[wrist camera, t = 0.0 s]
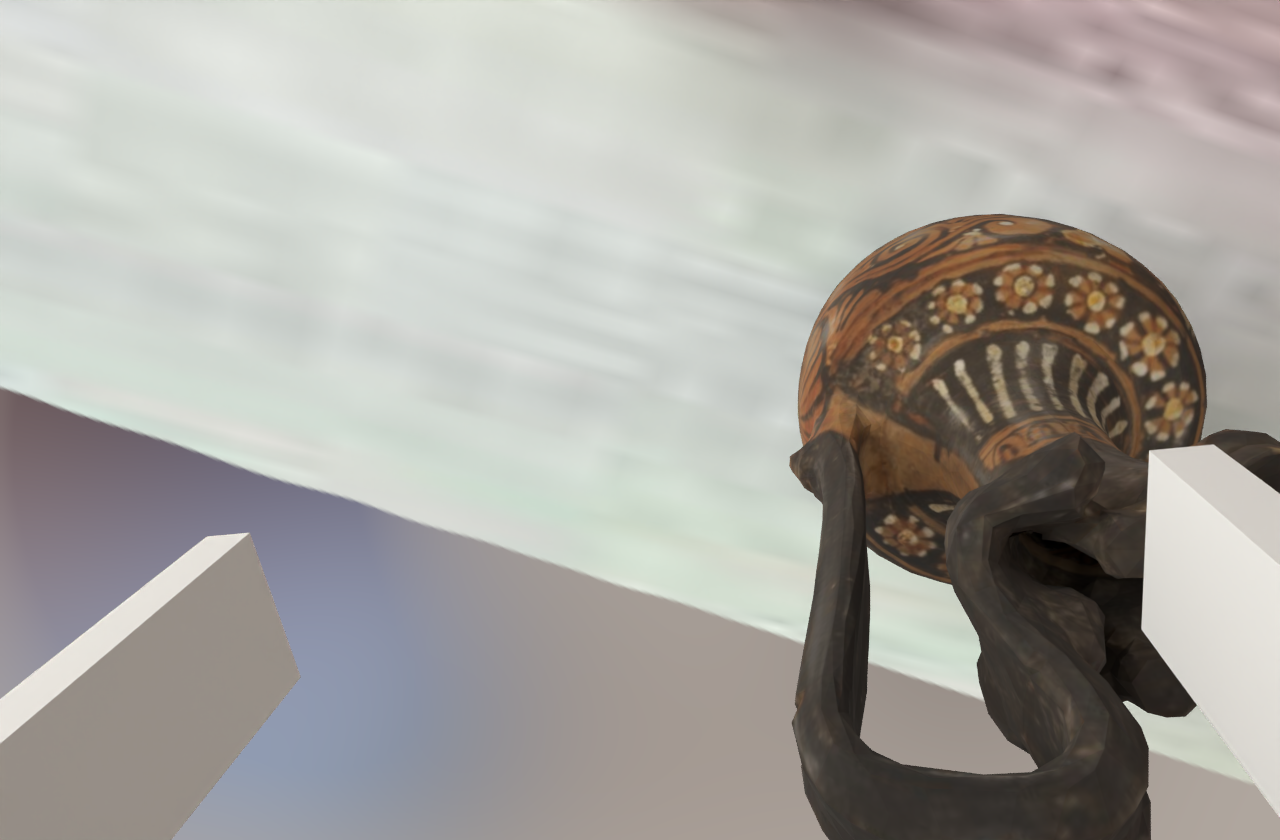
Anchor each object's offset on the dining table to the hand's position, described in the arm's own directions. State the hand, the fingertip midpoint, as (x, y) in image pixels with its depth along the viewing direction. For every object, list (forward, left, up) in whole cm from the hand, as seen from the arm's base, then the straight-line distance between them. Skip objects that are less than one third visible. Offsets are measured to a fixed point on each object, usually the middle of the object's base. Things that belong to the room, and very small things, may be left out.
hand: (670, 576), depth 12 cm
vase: (+4, +8, -28) cm, 29 cm away
